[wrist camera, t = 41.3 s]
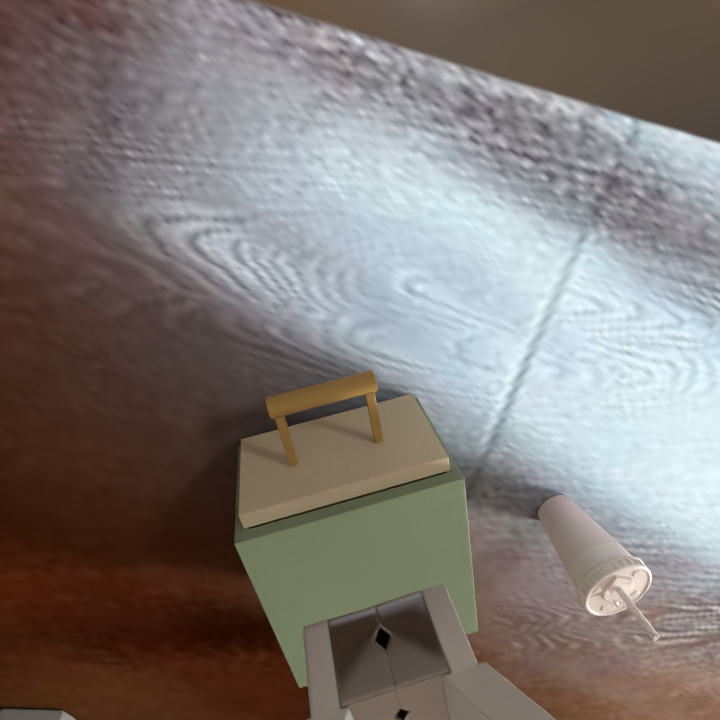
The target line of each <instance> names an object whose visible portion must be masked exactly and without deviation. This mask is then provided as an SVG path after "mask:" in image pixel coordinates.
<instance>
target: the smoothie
mask: <svg viewBox="0 0 720 720" xmlns="http://www.w3.org/2000/svg"><path fill="white" fill-rule="evenodd" d="M538 517H539V519H540V521H541V523H542V525H543V527H544V528H545V530H546V532H547V534H548V536H549V538H550V540H551V542H552V544H553V545H554V547H555V549H556V551H557V553H558V555H559V557H560V559H561V561H562V562H563V564H564V566H565V568H566V570H567V572H568V574H569V576H570V578H571V580H572V582H573V583H574V585H575V587H576V589H577V598H578V600H579V602H580V603H581V604H582V605H583V606H584V608H585V609H586V611H587V612H588V613H590V614H592V615H597V616H606V615H611V614H615V613H618V612H620V611H623V610H625V609H626V608H628V607H629V609H630V610H631V611H632V613H633V614H634V615H635V617H636V618H637V619H638V621H639V622H640V623H641V624H642V626H643V627H644V628H645V630H646V631H647V632H648V634H649V635H650V636H651V638H652V639H653V640H654V641H656V640H658V639H659V638H660V636H659V635H658V633H657V632H656V631H655V630H654V628H653V627H652V626H651V624H650V623H649V622H648V621H647V619H646V618H645V617H644V616H643V614H642V613H641V612H640V610H639V609H638V608H637V607H636V605H635V604H634V603H636V602H637V601H638V600H639V599H640V598H641V597H642V596H643V595H644V594H645V593H646V591H647V590H648V588H649V587H650V584H651V581H652V574H651V572H650V570H649V569H648V568H647V567H646V566H645V564H644V562H643V561H642V560H641V559H639V558H637V557H634V556H631V555H630V554H629V553H628V552H627V551H626V550H625V549H624V548H623V547H622V546H621V545H620V544H618V543H617V542H616V541H615V540H614V539H613V538H612V537H611V536H610V535H609V534H608V533H607V532H606V531H604V530H603V529H602V528H601V527H600V526H599V525H598V524H597V523H596V522H595V521H594V520H593V519H592V518H590V517H589V516H588V515H587V514H586V513H585V512H584V511H583V510H582V509H581V508H580V507H579V506H577V505H576V504H575V503H574V502H573V501H572V500H571V499H570V498H569V497H567V496H565V495H557V496H553V497H551V498H549V499H548V500H546V501H545V502H544V503H543V504H542V505H541V506H540V508H539V511H538Z"/></svg>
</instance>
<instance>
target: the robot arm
mask: <svg viewBox="0 0 720 720" xmlns="http://www.w3.org/2000/svg"><path fill="white" fill-rule="evenodd" d="M303 640H304V650H305V661H306V671H307V682H308V692H309V703H310V713H311V718H310V719H307V720H556V719H554V718H553V717H552V716H551V715H550V714H548V713H547V712H546V711H545V710H543V709H542V708H541V707H540V706H539V705H537V704H536V703H535V702H534V701H532V700H531V699H530V698H529V697H528V696H526V695H525V694H524V693H523V692H521V691H520V690H519V689H518V688H517V687H515V686H514V685H513V684H512V683H510V682H509V681H508V680H507V679H505V678H504V677H503V676H502V675H501V674H499V673H498V672H497V671H496V670H494V669H493V668H492V667H491V666H490V665H488V664H487V663H486V662H483V663H479V664H478V663H477V661H476V658H475V656H474V653H473V651H472V648H471V646H470V644H469V641H468V639H467V636H466V634H465V631H464V629H463V627H462V624H461V622H460V619H459V617H458V615H457V612H456V610H455V607H454V605H453V602H452V600H451V598H450V595H449V593H448V590H447V588H446V587H445V586H444V585H443V584H440V585H437V586H434V587H430V588H427V589H424V590H421V591H416V592H413V593H410V594H407V595H404V596H401V597H398V598H395V599H392V600H388V601H385V602H382V603H379V604H376V605H375V606H371V607H368V608H365V609H361V610H358V611H355V612H352V613H348V614H345V615H342V616H338V617H335V618H332V619H327V620H324V621H320V622H317V623H314V624H311V625H308V626H305V627H304V632H303Z"/></svg>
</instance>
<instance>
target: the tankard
mask: <svg viewBox="0 0 720 720" xmlns="http://www.w3.org/2000/svg"><path fill="white" fill-rule="evenodd" d="M0 720H77V719H75V718H74V717H72V716H71V715H69V714H68V713H66V712H65V711H63V710H55V709H17V708H3V709H1V710H0Z"/></svg>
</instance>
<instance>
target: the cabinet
mask: <svg viewBox="0 0 720 720" xmlns="http://www.w3.org/2000/svg"><path fill="white" fill-rule="evenodd" d="M415 400H416V402H417V403H418V405H419V407H420V409H421V410H422V412H423V414H424V416H425V417H426V419H427V421H428V423H429V424H430V426H431V428H432V430H433V431H434V433H435V435H436V436H437V438H438V440H439V442H440V443H441V445H442V447H443V449H444V450H445V452H446V454H447V456H448V459H449V468H450V470H449V471H446V472H442V473H439V474H435V475H433V477H430V478H427V479H423V480H420V481H416V482H413V483H409V484H406V485H402V486H399V487H395V488H392V489H388V490H385V491H381V492H378V493H374V494H371V495H367V496H364V497H360V498H357V499H353V500H350V501H346V502H343V503H339V504H336V505H332V506H329V507H325V508H321V509H318V510H314V511H311V512H307V513H304V514H300V515H297V516H293V517H290V518H286V519H283V520H279V521H276V522H272V523H269V524H265V525H262V524H260V525H256V526H253V527H249V528H246V529H244V528H243V526H242V523H241V521H240V519H239V516H238V513H239V484H240V455H241V445H240V446H238V465H237V489H236V513H235V535H234V545H235V547H236V549H237V552H238V554H239V556H240V558H241V560H242V563H243V565H244V567H245V569H246V571H247V574H248V576H249V578H250V580H251V582H252V585H253V587H254V589H255V591H256V594H257V596H258V598H259V600H260V602H261V605H262V607H263V609H264V611H265V613H266V616H267V618H268V620H269V622H270V624H271V627H272V629H273V631H274V633H275V635H276V638H277V640H278V642H279V644H280V646H281V649H282V651H283V653H284V655H285V657H286V660H287V662H288V664H289V666H290V669H291V671H292V673H293V675H294V677H295V680H296V682H297V684H298V686H299V688H301V687H304V686H308V682H307V671H306V661H305V650H304V640H303V632H304V627H305V626H308V625H311V624H314V623H317V622H320V621H324V620H327V619H332V618H335V617H338V616H342V615H345V614H348V613H352V612H355V611H358V610H361V609H365V608H368V607H371V606H375V605H376V604H379V603H382V602H385V601H388V600H392V599H395V598H398V597H401V596H404V595H407V594H410V593H413V592H416V591H421V590H424V589H427V588H430V587H434V586H437V585H440V584H443V585H444V586H445V587H446V588H447V590H448V593H449V595H450V598H451V600H452V602H453V605H454V607H455V610H456V612H457V615H458V617H459V619H460V622H461V624H462V627H463V629H464V631H465V634H466V635H467V634H470V633H473V632H476V631H478V625H477V614H476V603H475V592H474V581H473V570H472V559H471V548H470V537H469V526H468V514H467V503H466V492H465V481H464V477H463V475H462V473H461V472H460V470H459V469H458V467H457V465H456V464H455V462H454V460H453V458H452V457H451V455H450V453H449V452H448V450H447V448H446V446H445V445H444V443H443V441H442V440H441V438H440V436H439V434H438V433H437V431H436V429H435V428H434V426H433V424H432V423H431V421H430V419H429V417H428V416H427V414H426V412H425V411H424V409H423V407H422V405H421V403H420V402H419V400H418V398H416V399H415Z"/></svg>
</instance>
